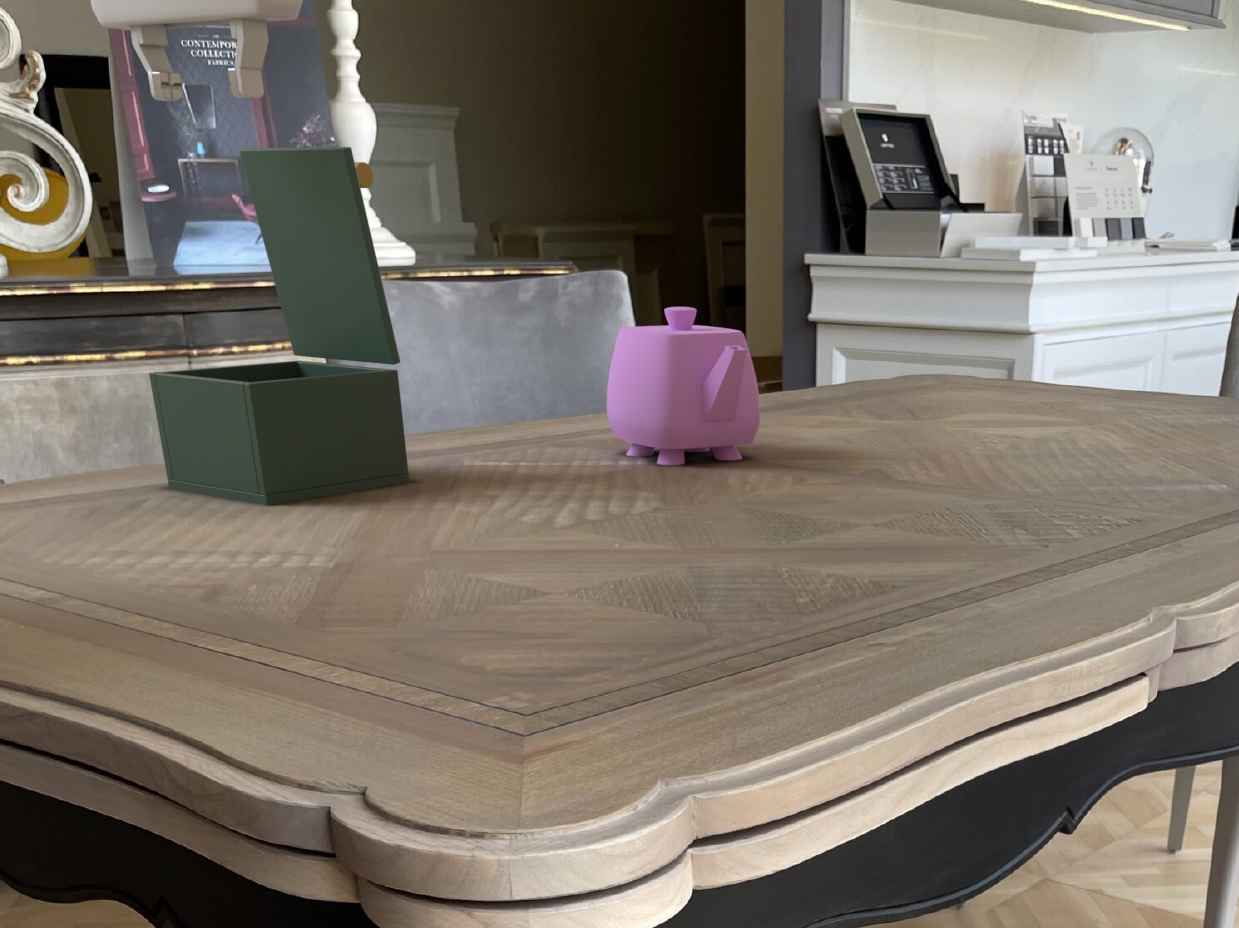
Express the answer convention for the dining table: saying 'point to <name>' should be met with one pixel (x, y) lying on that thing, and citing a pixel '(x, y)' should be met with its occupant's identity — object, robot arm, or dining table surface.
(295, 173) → the lid
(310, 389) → the chest
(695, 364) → the teapot
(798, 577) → the dining table surface
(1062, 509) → the dining table surface
